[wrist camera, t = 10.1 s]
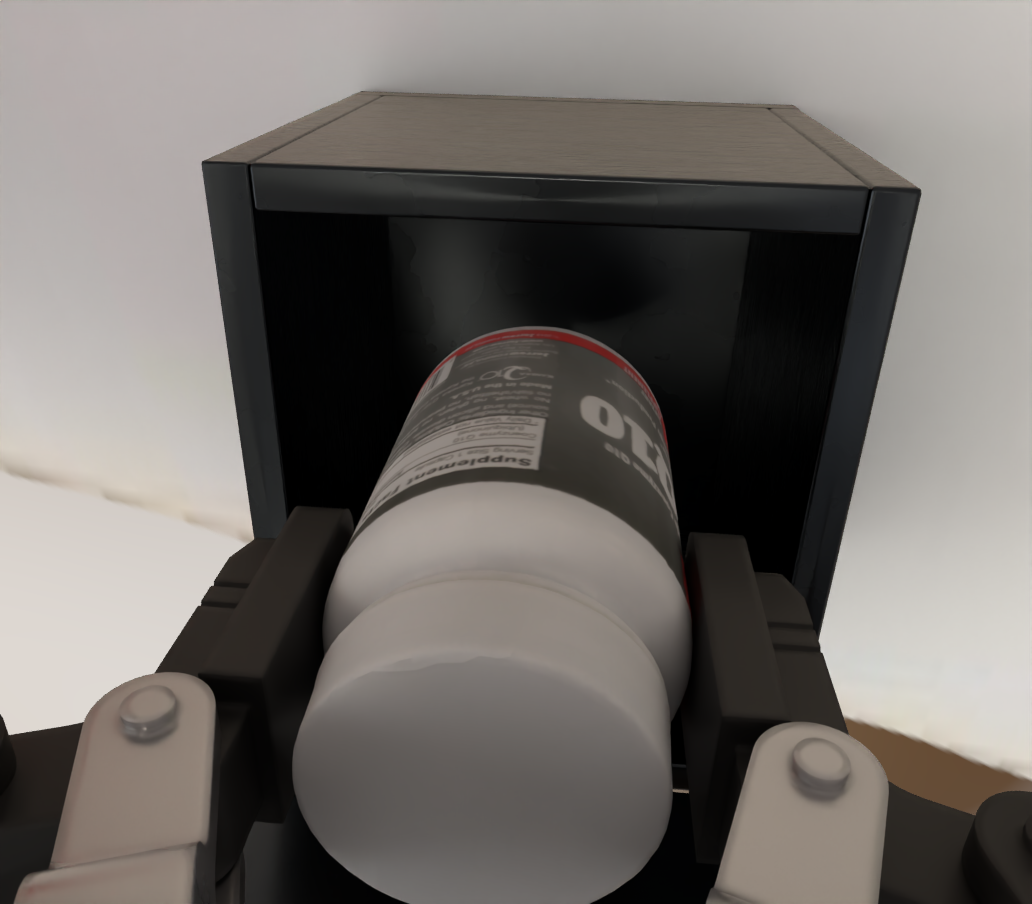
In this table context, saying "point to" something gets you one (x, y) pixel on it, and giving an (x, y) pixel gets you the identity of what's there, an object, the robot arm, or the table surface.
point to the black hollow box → (567, 292)
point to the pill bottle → (505, 637)
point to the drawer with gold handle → (348, 900)
